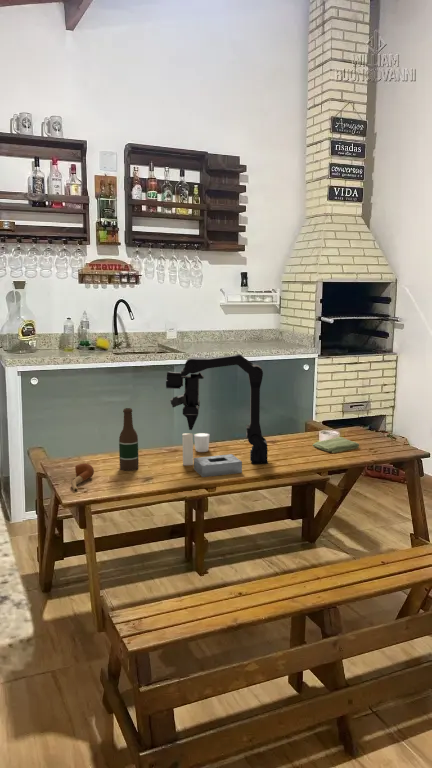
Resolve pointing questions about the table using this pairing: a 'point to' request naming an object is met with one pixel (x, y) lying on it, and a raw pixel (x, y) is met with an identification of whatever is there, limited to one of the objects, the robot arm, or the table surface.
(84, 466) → the smoking pipe
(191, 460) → the block
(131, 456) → the beer bottle
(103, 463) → the table surface
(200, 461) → the box
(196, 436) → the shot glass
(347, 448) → the washcloth
